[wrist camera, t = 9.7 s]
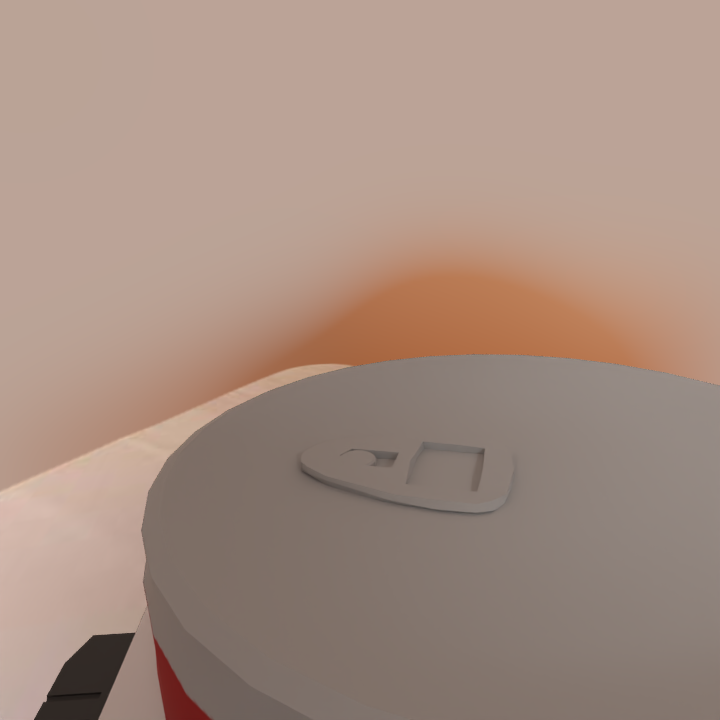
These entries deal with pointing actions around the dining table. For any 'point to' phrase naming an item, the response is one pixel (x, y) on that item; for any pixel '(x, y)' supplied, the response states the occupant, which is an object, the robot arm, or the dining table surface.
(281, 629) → the canned food
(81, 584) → the dining table surface
